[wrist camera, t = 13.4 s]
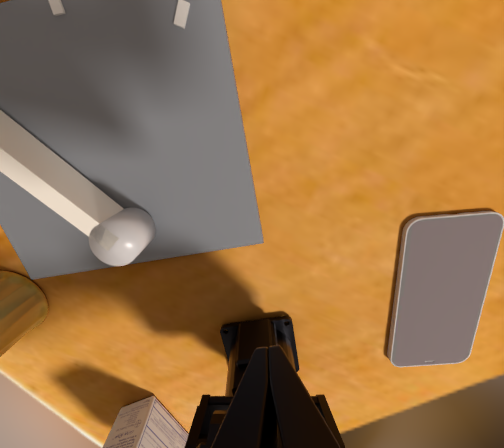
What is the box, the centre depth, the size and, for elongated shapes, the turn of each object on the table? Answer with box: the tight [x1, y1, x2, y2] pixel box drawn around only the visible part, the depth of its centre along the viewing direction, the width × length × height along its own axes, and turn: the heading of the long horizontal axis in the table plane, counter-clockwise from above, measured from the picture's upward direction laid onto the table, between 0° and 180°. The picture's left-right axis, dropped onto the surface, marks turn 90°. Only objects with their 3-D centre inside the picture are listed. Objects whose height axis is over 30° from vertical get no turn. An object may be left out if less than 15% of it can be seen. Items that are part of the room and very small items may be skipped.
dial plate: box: [0, 0, 264, 280], centre depth 17 cm, size 17×19×1 cm
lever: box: [0, 110, 156, 266], centre depth 16 cm, size 14×3×3 cm, turn 46°
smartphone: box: [387, 211, 504, 367], centre depth 22 cm, size 7×1×15 cm
